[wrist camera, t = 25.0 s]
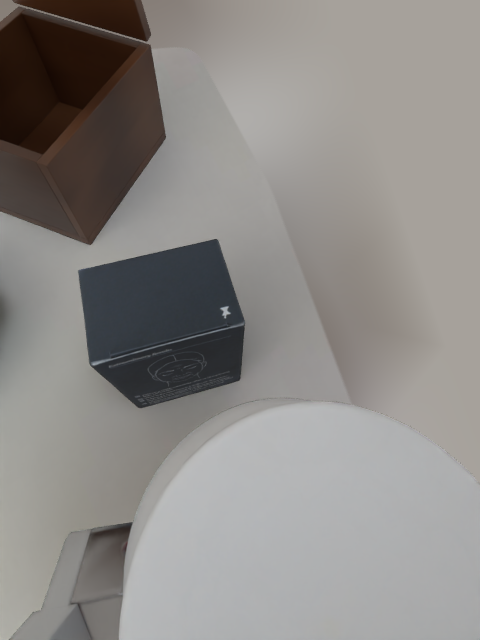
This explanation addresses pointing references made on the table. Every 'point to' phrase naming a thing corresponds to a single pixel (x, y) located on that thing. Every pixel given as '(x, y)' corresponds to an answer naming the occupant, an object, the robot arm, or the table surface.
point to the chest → (72, 121)
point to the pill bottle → (304, 532)
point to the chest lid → (99, 14)
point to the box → (164, 323)
